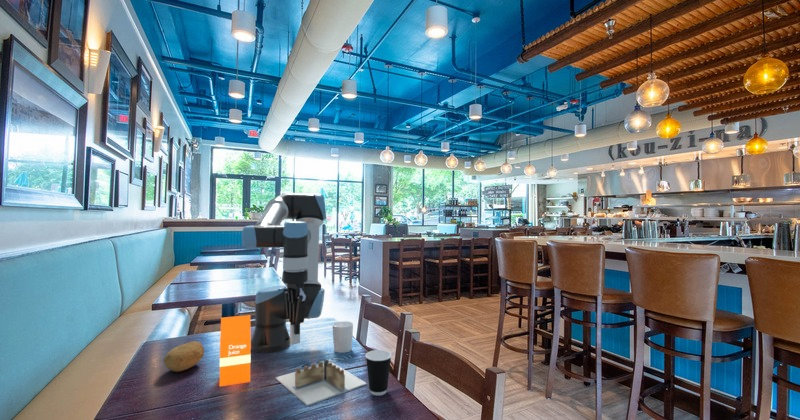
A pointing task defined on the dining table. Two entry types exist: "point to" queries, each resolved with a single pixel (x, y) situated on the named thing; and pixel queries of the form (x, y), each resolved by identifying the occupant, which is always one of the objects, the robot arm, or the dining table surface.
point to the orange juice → (235, 350)
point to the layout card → (319, 387)
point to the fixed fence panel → (334, 375)
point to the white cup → (342, 336)
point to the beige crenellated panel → (309, 374)
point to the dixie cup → (378, 370)
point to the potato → (184, 356)
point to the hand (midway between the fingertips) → (295, 343)
